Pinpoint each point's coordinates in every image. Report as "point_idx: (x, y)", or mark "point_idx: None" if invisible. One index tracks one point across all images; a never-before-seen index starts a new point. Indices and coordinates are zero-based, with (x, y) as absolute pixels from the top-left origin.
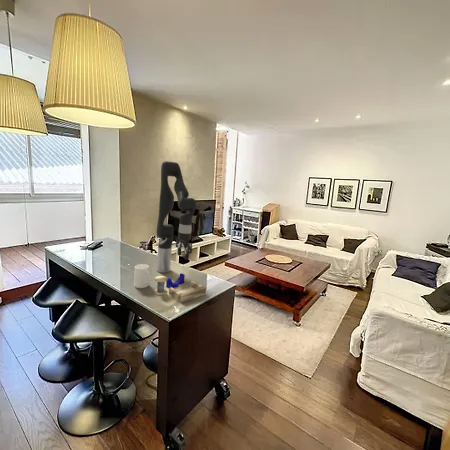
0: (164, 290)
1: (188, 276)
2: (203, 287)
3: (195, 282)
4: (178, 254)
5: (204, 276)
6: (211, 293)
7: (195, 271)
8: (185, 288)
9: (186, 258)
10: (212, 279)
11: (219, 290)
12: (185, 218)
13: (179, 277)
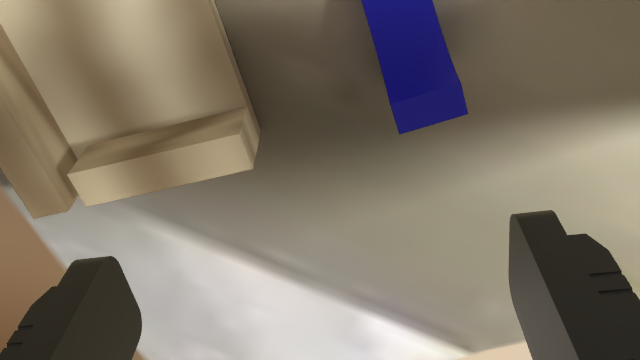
0: None
1: (533, 196)
2: (46, 198)
3: (198, 174)
4: (515, 237)
5: (451, 325)
6: (71, 229)
7: None
8: (199, 29)
9: (41, 301)
10: (357, 353)
11: None
12: None
13: (434, 56)
